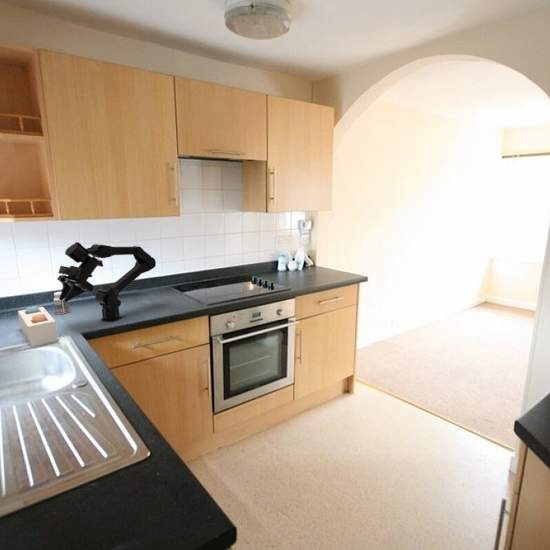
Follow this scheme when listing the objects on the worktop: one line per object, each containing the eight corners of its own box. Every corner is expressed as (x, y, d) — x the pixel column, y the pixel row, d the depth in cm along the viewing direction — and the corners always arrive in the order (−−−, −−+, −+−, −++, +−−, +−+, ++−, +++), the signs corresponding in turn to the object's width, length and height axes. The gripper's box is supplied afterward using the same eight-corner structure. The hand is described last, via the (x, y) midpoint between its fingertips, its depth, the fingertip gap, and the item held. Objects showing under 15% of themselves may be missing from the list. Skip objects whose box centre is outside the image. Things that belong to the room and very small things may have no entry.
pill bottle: (66, 310, 183) (63, 290, 181) (71, 312, 179) (68, 292, 177) (53, 313, 178) (50, 293, 176) (58, 315, 175) (55, 294, 173)
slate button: (41, 311, 156) (40, 306, 155) (32, 315, 152) (32, 309, 151) (32, 311, 157) (32, 305, 156) (24, 314, 153) (23, 309, 152)
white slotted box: (20, 329, 157) (17, 310, 155) (45, 324, 163) (42, 306, 161) (31, 347, 138) (27, 326, 136) (58, 340, 144) (55, 321, 142)
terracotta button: (49, 320, 145) (48, 314, 144) (39, 324, 141) (38, 318, 140) (39, 319, 146) (38, 314, 145) (30, 323, 142) (29, 317, 141)
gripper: (58, 256, 155) (34, 287, 149) (82, 259, 145) (57, 293, 139) (79, 271, 163) (57, 301, 157) (103, 275, 153) (80, 308, 147)
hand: (62, 300), depth 150 cm, fingers open, 4 cm apart
